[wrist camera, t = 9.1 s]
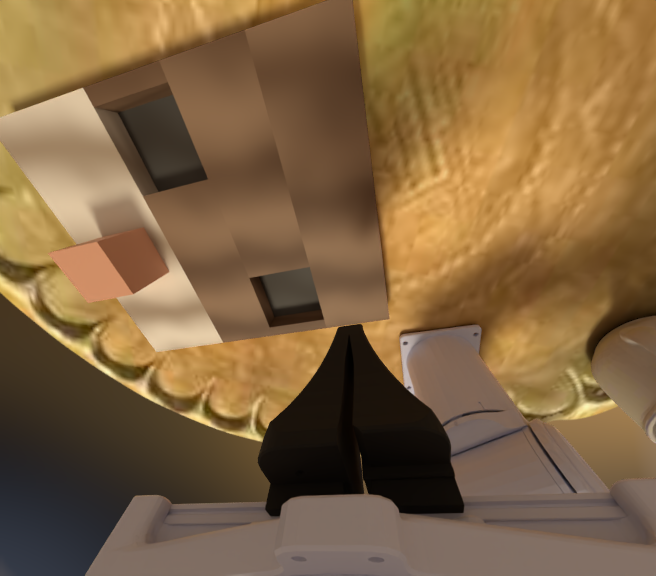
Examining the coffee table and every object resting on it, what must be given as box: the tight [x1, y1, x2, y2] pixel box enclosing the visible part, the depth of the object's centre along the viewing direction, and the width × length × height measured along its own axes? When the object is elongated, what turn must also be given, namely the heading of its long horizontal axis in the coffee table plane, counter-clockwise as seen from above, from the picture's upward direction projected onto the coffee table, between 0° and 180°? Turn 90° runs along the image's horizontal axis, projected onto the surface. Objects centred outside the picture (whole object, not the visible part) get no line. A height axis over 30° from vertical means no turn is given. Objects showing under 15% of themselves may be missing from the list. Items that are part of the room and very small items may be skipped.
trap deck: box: [0, 0, 389, 352], centre depth 19 cm, size 21×25×2 cm
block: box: [48, 227, 169, 303], centre depth 18 cm, size 4×4×4 cm
